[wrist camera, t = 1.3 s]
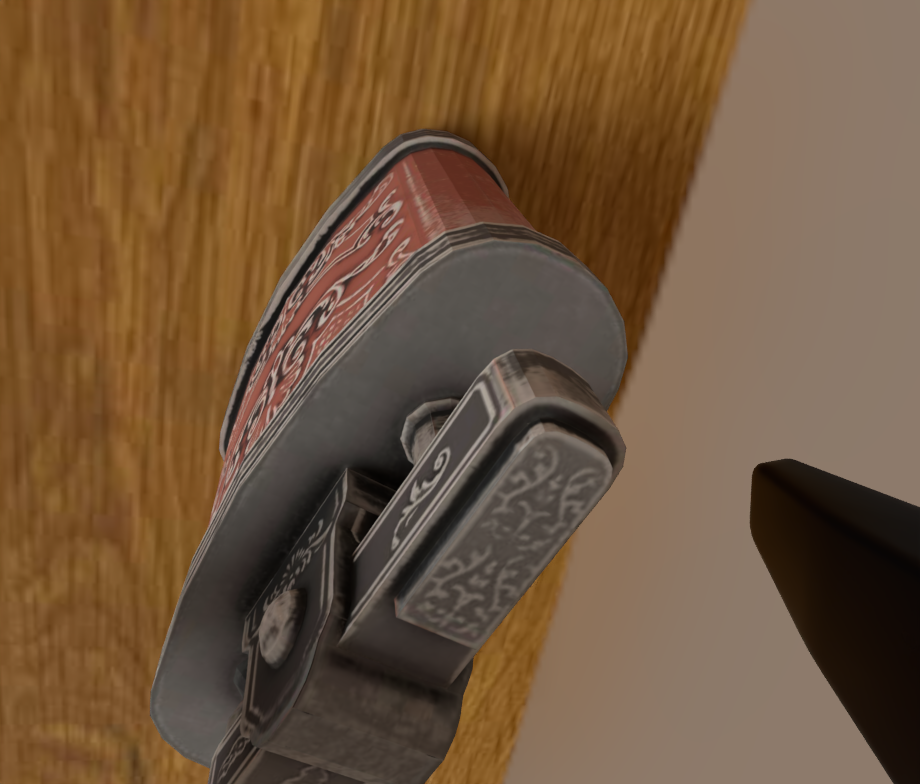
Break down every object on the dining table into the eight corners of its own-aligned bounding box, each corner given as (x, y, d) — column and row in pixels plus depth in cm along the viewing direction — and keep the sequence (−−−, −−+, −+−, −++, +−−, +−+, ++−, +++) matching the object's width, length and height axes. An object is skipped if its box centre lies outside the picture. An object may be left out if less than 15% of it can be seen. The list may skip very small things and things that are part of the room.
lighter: (331, 503, 18) (326, 1010, 9) (187, 438, 17) (14, 945, 8) (542, 190, 15) (822, 457, 7) (391, 88, 14) (478, 243, 5)
